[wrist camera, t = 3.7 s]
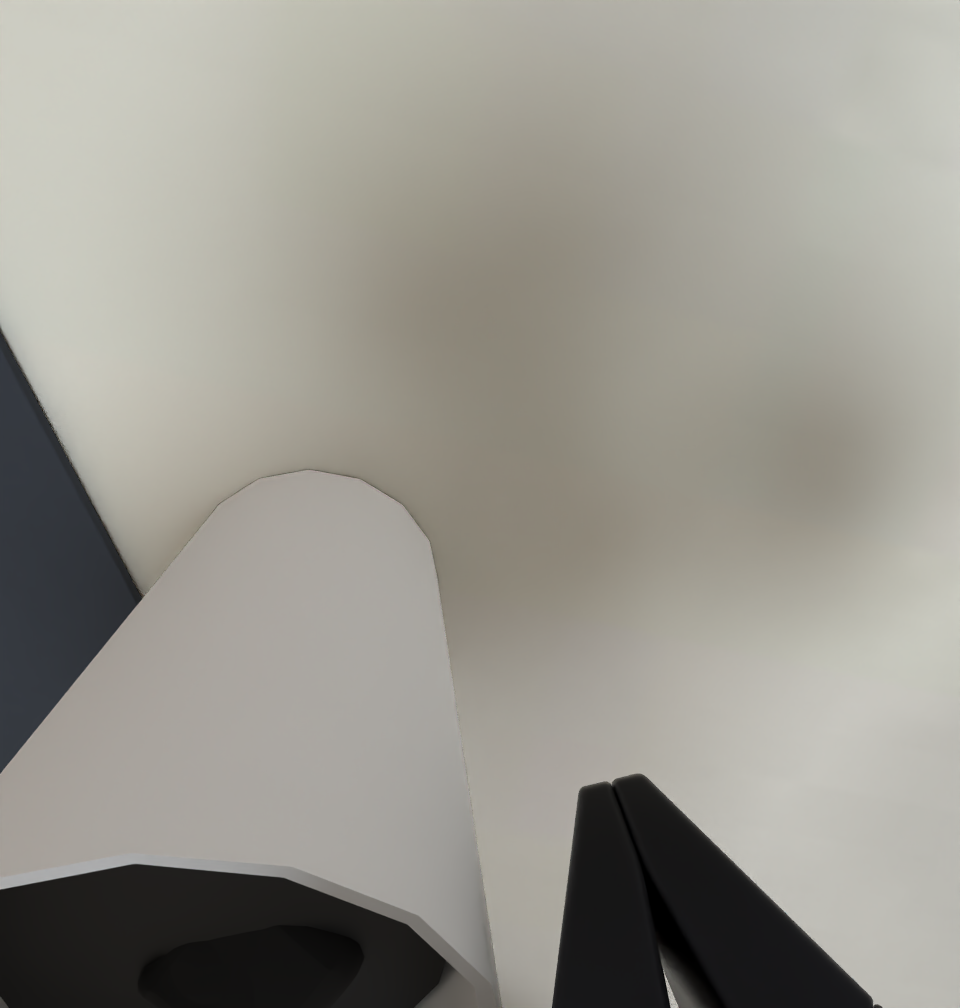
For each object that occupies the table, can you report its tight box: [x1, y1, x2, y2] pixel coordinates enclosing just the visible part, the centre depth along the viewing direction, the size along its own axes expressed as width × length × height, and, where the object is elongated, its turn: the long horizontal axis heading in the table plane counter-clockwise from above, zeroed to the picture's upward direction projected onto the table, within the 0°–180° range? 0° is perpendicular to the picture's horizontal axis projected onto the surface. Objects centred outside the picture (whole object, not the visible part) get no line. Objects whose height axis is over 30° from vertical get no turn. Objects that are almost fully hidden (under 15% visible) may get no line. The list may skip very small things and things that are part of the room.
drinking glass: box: [0, 470, 502, 1008], centre depth 11 cm, size 7×7×10 cm
